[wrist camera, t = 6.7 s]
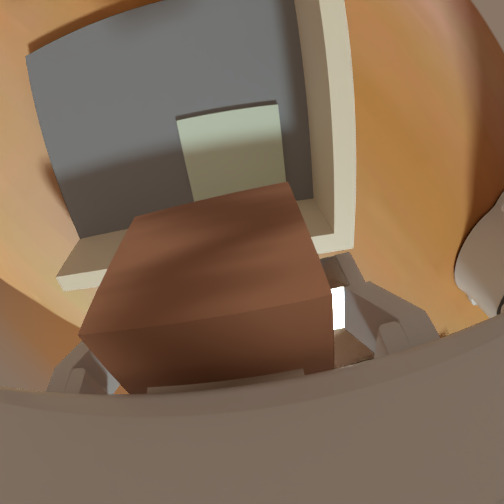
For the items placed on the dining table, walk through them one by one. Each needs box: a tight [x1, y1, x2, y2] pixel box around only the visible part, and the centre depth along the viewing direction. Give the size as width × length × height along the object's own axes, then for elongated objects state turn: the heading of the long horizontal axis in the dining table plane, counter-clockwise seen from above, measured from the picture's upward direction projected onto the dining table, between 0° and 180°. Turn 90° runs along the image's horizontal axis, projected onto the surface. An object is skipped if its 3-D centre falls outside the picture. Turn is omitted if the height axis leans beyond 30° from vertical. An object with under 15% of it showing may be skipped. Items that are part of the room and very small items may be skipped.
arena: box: [25, 0, 356, 291], centre depth 19 cm, size 23×20×7 cm
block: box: [78, 182, 334, 394], centre depth 9 cm, size 6×6×6 cm
